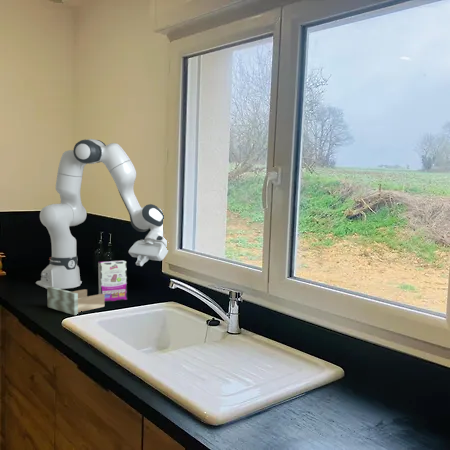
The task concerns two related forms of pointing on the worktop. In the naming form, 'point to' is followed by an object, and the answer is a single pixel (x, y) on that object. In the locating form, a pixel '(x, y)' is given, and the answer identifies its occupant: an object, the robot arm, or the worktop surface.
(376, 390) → the worktop surface
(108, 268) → the candy bar box
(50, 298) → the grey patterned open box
